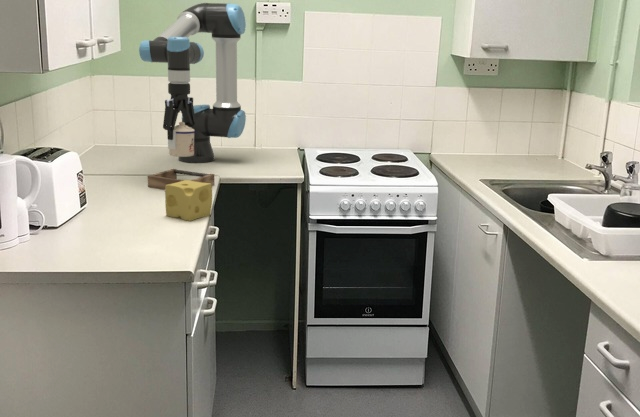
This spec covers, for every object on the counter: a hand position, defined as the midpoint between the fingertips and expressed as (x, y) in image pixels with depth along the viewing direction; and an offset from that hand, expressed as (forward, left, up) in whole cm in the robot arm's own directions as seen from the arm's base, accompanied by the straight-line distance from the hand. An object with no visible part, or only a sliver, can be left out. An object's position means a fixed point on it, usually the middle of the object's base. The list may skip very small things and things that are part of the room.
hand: (180, 146), depth 248 cm
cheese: (+30, +24, -15) cm, 41 cm away
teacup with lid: (-1, 0, -3) cm, 3 cm away
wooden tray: (0, 0, -14) cm, 14 cm away
